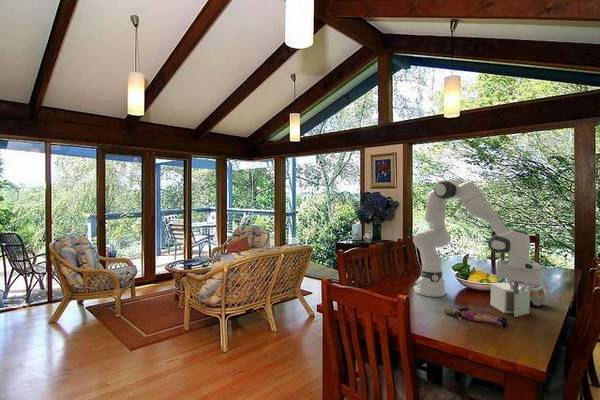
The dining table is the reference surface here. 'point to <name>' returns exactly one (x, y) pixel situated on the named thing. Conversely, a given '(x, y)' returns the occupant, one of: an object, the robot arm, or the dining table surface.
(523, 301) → the end flap
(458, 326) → the dining table surface
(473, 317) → the character figurine
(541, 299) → the toy car
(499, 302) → the carton
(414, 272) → the dining table surface
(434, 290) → the robot arm
